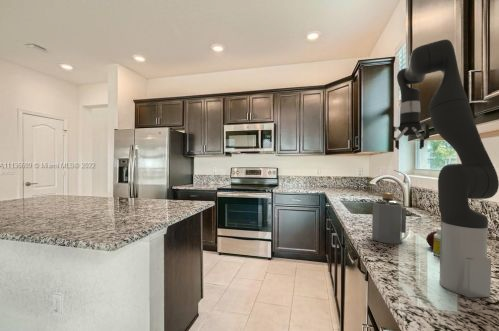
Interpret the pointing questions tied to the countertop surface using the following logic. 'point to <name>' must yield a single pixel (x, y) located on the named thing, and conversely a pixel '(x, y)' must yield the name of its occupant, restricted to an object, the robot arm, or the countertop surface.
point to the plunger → (387, 197)
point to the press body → (388, 222)
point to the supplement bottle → (437, 242)
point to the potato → (431, 239)
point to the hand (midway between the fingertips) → (408, 149)
